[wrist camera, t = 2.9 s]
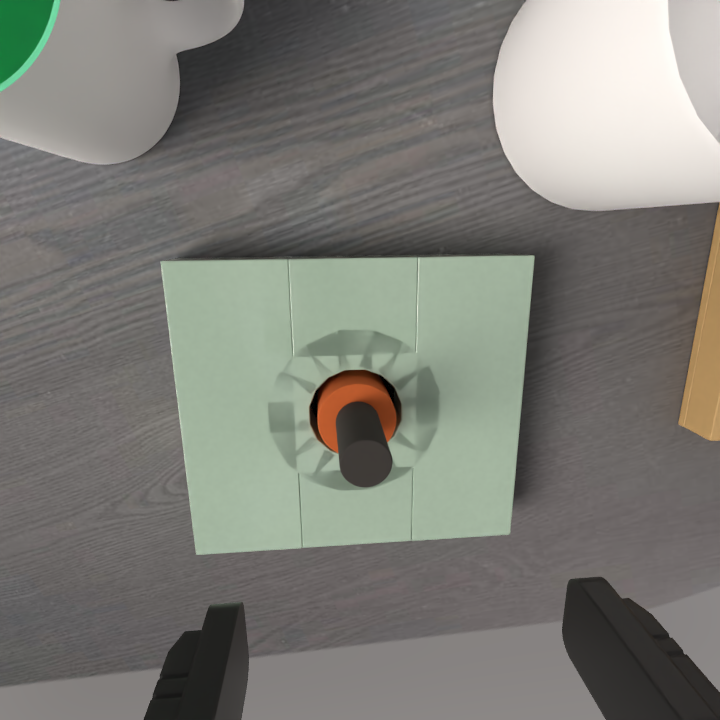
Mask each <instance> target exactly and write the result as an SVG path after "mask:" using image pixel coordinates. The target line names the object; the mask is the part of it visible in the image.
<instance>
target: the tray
mask: <svg viewBox="0 0 720 720" xmlns="http://www.w3.org/2000/svg"><path fill="white" fill-rule="evenodd" d="M678 424H679V425H681V426H683V427H685V428H687V429H689V430H691V431H692V432H694V433H696V434H698V435H700V436H702V437H704V438H706V439H708V440H709V441H718V440H720V203H719V207H718V213H717V218H716V223H715V229H714V234H713V240H712V245H711V250H710V256H709V261H708V266H707V272H706V277H705V283H704V288H703V293H702V299H701V304H700V309H699V315H698V320H697V326H696V331H695V336H694V342H693V347H692V352H691V358H690V363H689V369H688V374H687V379H686V385H685V390H684V395H683V401H682V406H681V412H680V417H679V422H678Z"/></svg>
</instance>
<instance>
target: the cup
mask: <svg viewBox="0 0 720 720" xmlns="http://www.w3.org/2000/svg"><path fill="white" fill-rule="evenodd" d="M493 109H494V116H495V124H496V130H497V133H498V136H499V139H500V142H501V145H502V147H503V150H504V153H505V155H506V157H507V158H508V160H509V162H510V163H511V165H512V167H513V168H514V170H515V172H516V173H517V174H518V175H519V176H520V178H521V179H522V180H523V181H524V182H525V183H526V184H527V185H528V186H529V187H530V188H531V189H532V190H533V191H535V192H536V193H538V194H539V195H541V196H542V197H544V198H545V199H547V200H548V201H550V202H552V203H555V204H558V205H561V206H564V207H567V208H570V209H576V210H586V211H608V210H621V209H634V208H647V207H660V206H672V205H685V204H698V203H711V202H720V0H526V1H525V3H524V4H523V6H522V7H521V9H520V10H519V12H518V13H517V15H516V16H515V18H514V19H513V20H512V23H511V25H510V27H509V29H508V32H507V34H506V36H505V39H504V41H503V43H502V46H501V48H500V52H499V57H498V61H497V65H496V69H495V74H494V87H493Z"/></svg>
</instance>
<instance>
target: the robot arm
mask: <svg viewBox="0 0 720 720" xmlns="http://www.w3.org/2000/svg"><path fill="white" fill-rule="evenodd" d="M562 634H563V641H564V645H565V648H566V650H567V653H568V655H569V657H570V659H571V661H572V662H573V664H574V666H575V668H576V669H577V671H578V673H579V675H580V676H581V678H582V680H583V681H584V683H585V685H586V687H587V688H588V690H589V692H590V693H591V695H592V697H593V698H594V700H595V702H596V703H597V705H598V707H599V709H600V710H601V712H602V714H603V716H604V717H605V719H606V720H720V692H719V691H718V690H717V689H716V688H715V687H714V685H713V684H712V683H711V682H710V681H709V680H708V679H707V677H706V676H705V675H704V674H703V673H702V672H701V670H700V669H699V668H698V667H697V666H696V665H695V664H694V662H693V661H692V660H691V659H690V658H689V657H688V656H687V655H685V654H684V653H683V650H682V649H681V647H679V645H678V644H677V643H676V642H675V641H674V639H673V638H670V637H669V634H668V633H667V631H666V630H665V629H664V628H663V627H662V626H661V624H660V623H659V622H658V621H657V620H656V619H655V618H654V616H653V615H652V614H650V613H649V612H648V611H646V610H645V609H644V608H642V607H641V606H639V605H638V604H637V603H635V602H634V601H632V600H631V599H629V598H625V599H622V598H621V597H620V596H619V595H618V594H617V592H616V591H615V590H614V589H613V588H612V586H611V585H610V584H609V583H608V582H607V580H605V579H604V578H602V577H590V578H577V579H571V580H569V582H568V585H567V593H566V601H565V609H564V617H563V627H562ZM248 666H249V654H248V643H247V633H246V623H245V613H244V605H243V603H242V602H237V603H224V604H211V605H210V606H209V608H208V611H207V614H206V618H205V621H204V624H203V627H202V630H198V631H185V632H184V633H183V635H182V636H181V637H180V638H179V640H178V641H177V642H176V643H175V644H174V646H173V647H172V648H171V649H170V651H169V652H168V655H167V657H166V660H165V663H164V665H163V668H162V671H161V674H160V679H159V680H158V682H157V685H156V687H155V690H154V693H153V698H152V700H151V701H150V704H149V706H148V709H147V712H146V715H145V717H144V720H241V718H242V712H243V706H244V700H245V694H246V688H247V681H248V668H249V667H248Z"/></svg>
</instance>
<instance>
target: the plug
mask: <svg viewBox="0 0 720 720" xmlns="http://www.w3.org/2000/svg"><path fill="white" fill-rule="evenodd" d="M395 427H396V411H395V408H394V405H393V403H392V400H391V398H390V396H389V394H388V391H387V389H386V387H385V384H384V382H383V381H382V379H381V378H380V376H379V375H378V374H376V373H373V372H370V371H367V370H345V371H342V372H340V373H338V374H336V375H333V376H331V377H329V378H328V379H327V380H326V381H325V382H324V383H323V384H322V385H321V386H320V388H319V391H318V429H319V433H320V435H321V437H322V439H323V441H324V442H325V443H326V445H328V446H329V447H330V448H331V449H332V450H334V451H335V452H337V453H338V455H339V465H340V471H341V473H342V475H343V477H344V478H345V479H346V480H347V481H348V482H349V483H351V484H352V485H355V486H358V487H372V486H375V485H378V484H380V483H381V482H382V481H384V480H385V479H386V478H387V476H388V475H389V473H390V471H391V469H392V463H393V461H392V455H391V452H390V449H389V446H388V441H389V440H390V438H391V437H392V435H393V433H394V430H395Z"/></svg>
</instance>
